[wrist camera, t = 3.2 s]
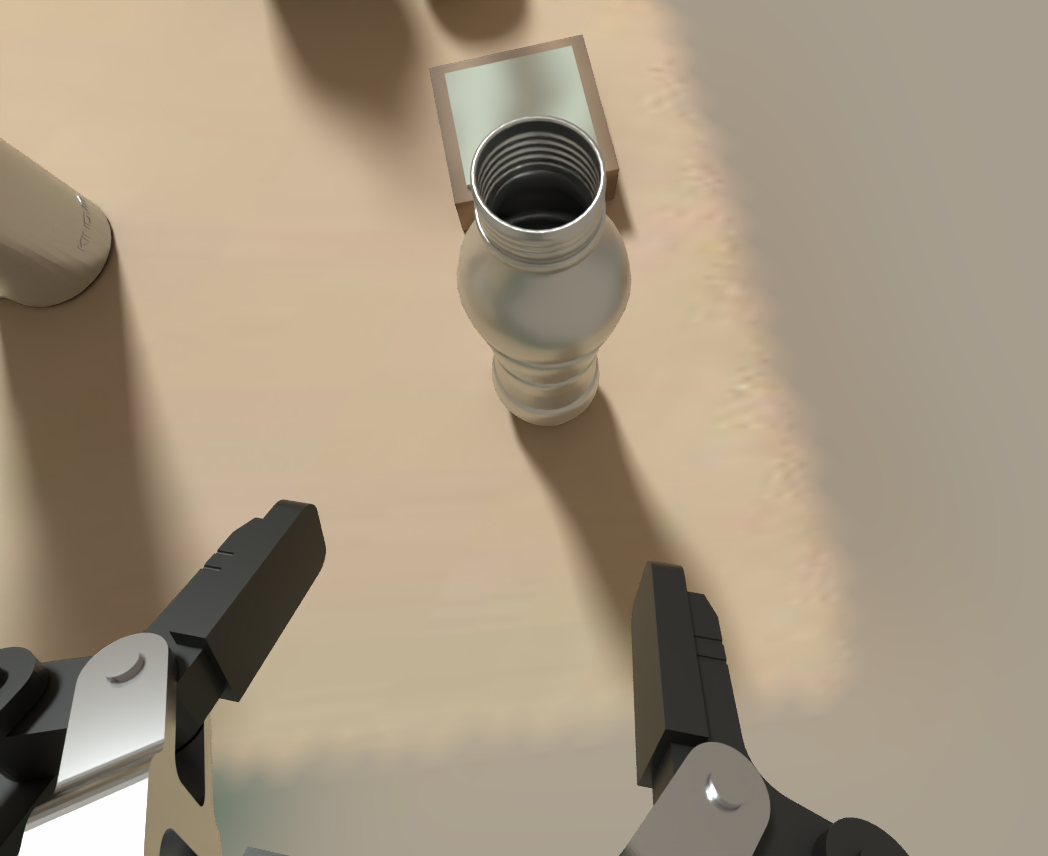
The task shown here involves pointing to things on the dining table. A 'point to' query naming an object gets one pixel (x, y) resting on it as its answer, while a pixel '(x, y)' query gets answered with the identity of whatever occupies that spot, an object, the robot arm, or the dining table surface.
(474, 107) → the walnut base
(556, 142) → the plastic bottle
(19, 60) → the dining table surface
